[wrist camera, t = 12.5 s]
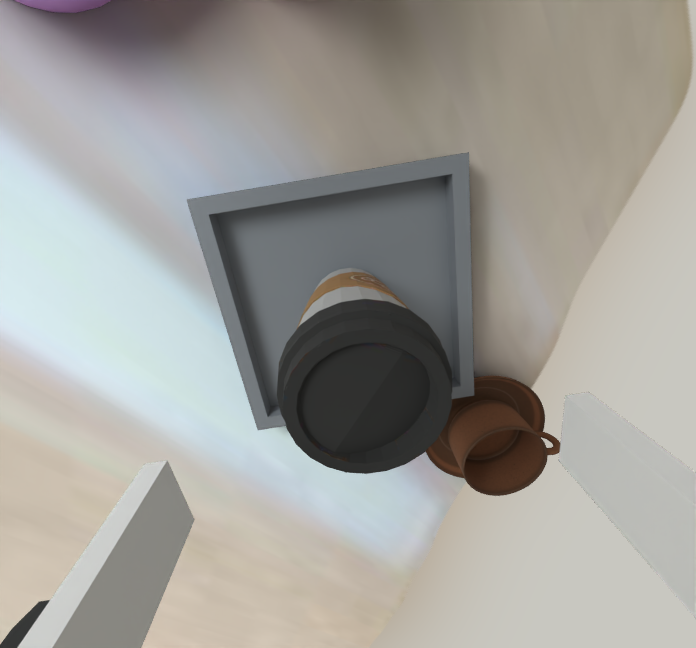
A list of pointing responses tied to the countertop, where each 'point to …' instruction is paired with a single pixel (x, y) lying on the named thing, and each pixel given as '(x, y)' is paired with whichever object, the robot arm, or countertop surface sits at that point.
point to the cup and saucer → (495, 437)
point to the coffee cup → (363, 377)
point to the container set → (64, 5)
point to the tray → (340, 259)
